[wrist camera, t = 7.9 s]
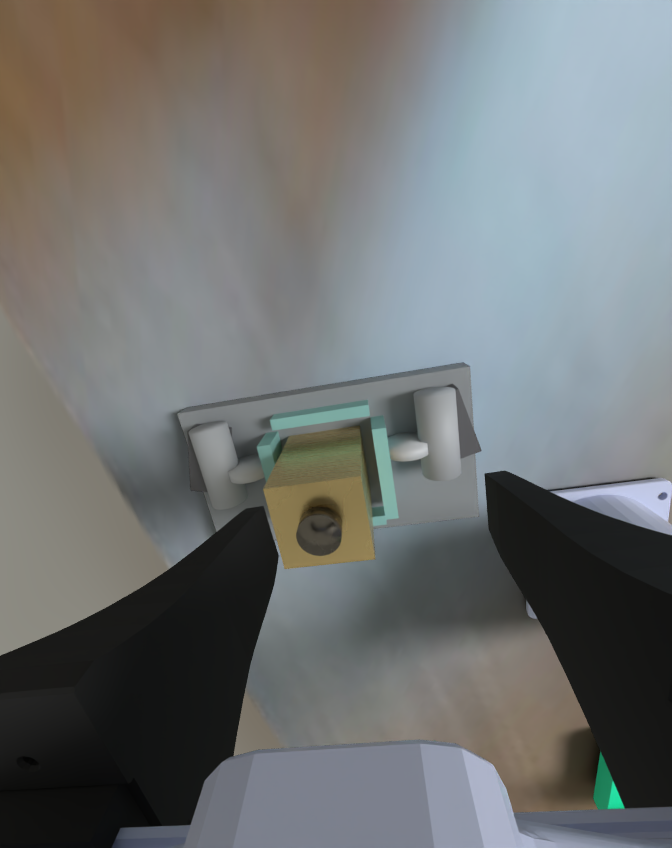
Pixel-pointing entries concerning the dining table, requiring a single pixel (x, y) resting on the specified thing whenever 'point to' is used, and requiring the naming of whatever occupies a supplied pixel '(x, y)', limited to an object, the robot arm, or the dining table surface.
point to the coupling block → (322, 499)
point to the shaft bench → (381, 434)
